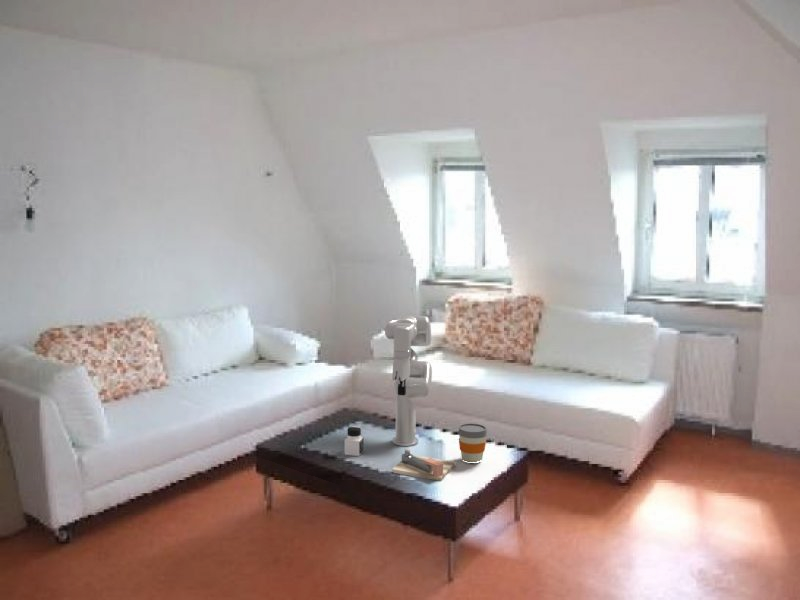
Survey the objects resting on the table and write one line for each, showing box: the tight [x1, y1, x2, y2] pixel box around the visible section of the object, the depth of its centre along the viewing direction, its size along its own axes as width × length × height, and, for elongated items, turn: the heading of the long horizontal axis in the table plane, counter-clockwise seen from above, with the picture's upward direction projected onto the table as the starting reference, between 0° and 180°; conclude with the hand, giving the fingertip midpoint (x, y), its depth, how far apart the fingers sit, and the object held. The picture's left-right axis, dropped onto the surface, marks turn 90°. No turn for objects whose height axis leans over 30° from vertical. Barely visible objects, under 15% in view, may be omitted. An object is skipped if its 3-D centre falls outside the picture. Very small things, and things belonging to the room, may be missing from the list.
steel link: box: [401, 453, 433, 472], centre depth 280 cm, size 18×5×2 cm, turn 41°
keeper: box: [424, 457, 443, 477], centre depth 273 cm, size 8×4×5 cm, turn 43°
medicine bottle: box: [344, 425, 365, 457], centre depth 299 cm, size 7×7×12 cm
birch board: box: [391, 449, 456, 482], centre depth 281 cm, size 18×22×7 cm
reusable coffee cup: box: [457, 422, 488, 462], centre depth 291 cm, size 13×13×15 cm
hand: (401, 394), depth 291 cm, fingers closed
